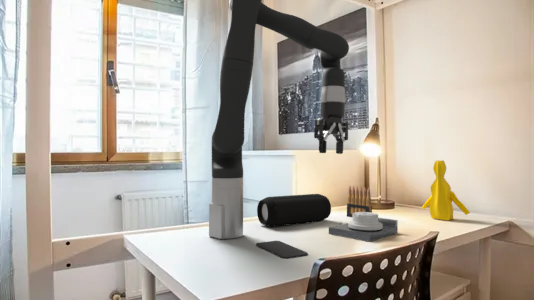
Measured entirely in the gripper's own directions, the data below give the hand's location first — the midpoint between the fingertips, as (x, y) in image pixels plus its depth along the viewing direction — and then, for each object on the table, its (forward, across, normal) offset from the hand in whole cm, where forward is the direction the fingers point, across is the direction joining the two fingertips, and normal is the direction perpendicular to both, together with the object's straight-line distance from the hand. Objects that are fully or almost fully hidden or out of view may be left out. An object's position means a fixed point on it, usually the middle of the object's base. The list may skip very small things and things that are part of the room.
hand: (331, 153), depth 116 cm
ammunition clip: (+24, -28, -7) cm, 38 cm away
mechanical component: (+22, -4, +10) cm, 25 cm away
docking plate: (+24, -5, +9) cm, 26 cm away
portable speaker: (+25, -2, -16) cm, 30 cm away
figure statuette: (+23, -48, +15) cm, 56 cm away
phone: (+26, +27, +6) cm, 38 cm away
